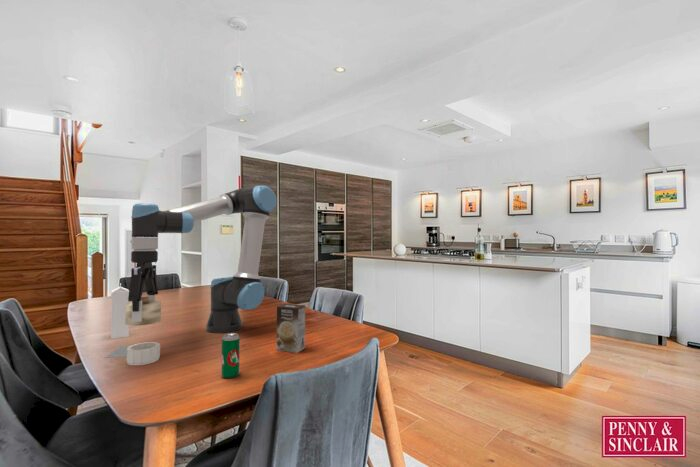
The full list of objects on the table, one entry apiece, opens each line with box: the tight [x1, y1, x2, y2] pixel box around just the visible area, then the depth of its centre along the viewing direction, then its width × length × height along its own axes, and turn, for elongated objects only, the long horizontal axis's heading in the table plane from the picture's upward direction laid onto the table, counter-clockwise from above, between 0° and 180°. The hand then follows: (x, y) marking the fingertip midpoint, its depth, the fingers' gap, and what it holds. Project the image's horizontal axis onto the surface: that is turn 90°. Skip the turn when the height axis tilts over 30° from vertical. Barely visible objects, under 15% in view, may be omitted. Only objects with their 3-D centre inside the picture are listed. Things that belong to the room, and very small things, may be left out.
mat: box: [104, 345, 130, 359], centre depth 120 cm, size 12×12×1 cm
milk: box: [110, 282, 130, 340], centre depth 139 cm, size 6×6×22 cm
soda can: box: [220, 332, 241, 379], centre depth 100 cm, size 5×5×12 cm
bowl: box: [126, 341, 161, 366], centre depth 111 cm, size 9×9×5 cm
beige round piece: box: [125, 296, 162, 327], centre depth 111 cm, size 10×10×8 cm
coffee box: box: [275, 303, 306, 354], centre depth 124 cm, size 9×6×16 cm
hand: (143, 317), depth 111 cm, fingers closed on beige round piece, 10 cm apart
